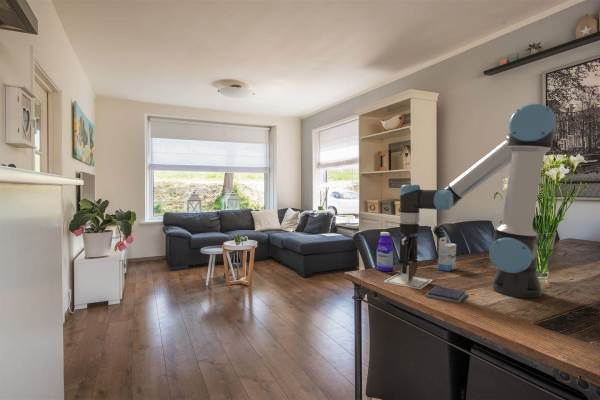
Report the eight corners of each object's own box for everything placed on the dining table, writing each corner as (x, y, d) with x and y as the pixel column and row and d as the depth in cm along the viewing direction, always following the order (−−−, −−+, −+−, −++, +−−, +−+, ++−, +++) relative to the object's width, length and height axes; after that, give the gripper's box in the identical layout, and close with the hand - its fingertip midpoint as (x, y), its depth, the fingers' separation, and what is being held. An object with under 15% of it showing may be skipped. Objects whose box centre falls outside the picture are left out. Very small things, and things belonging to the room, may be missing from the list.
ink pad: (466, 294, 119) (467, 291, 119) (459, 303, 110) (459, 299, 110) (435, 288, 125) (435, 285, 125) (425, 296, 117) (425, 292, 117)
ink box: (448, 271, 150) (449, 239, 150) (437, 269, 154) (438, 238, 153) (456, 268, 156) (456, 237, 156) (445, 266, 160) (446, 236, 159)
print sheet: (432, 280, 136) (432, 279, 136) (420, 289, 125) (420, 288, 125) (397, 274, 146) (397, 273, 146) (383, 282, 134) (383, 281, 134)
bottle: (374, 270, 153) (375, 232, 152) (379, 267, 158) (380, 231, 157) (390, 272, 149) (390, 233, 148) (394, 269, 153) (395, 232, 153)
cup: (418, 282, 131) (419, 262, 131) (399, 281, 132) (399, 261, 132) (416, 277, 138) (416, 258, 138) (397, 276, 140) (398, 257, 139)
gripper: (408, 220, 144) (407, 272, 145) (390, 224, 129) (389, 283, 130) (426, 221, 140) (425, 275, 141) (409, 225, 124) (408, 286, 125)
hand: (408, 279), depth 135 cm, fingers closed on cup, 7 cm apart
